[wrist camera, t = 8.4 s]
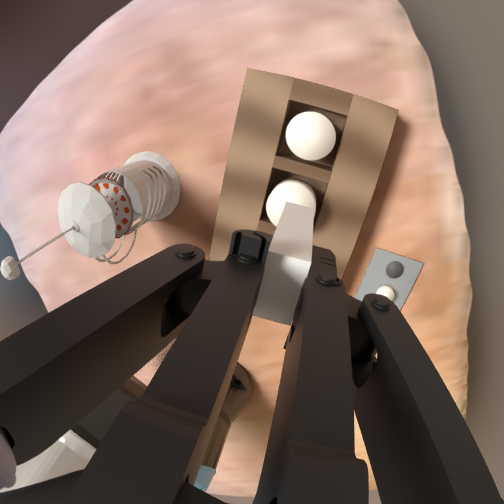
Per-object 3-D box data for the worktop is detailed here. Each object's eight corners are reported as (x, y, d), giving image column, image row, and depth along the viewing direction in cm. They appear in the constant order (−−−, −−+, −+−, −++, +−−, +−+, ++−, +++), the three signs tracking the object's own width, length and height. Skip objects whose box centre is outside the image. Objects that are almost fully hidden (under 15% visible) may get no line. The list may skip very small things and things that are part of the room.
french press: (181, 152, 38) (25, 219, 16) (181, 237, 43) (64, 357, 21) (117, 150, 40) (-37, 208, 18) (121, 228, 45) (-3, 323, 23)
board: (326, 300, 43) (325, 316, 40) (213, 267, 44) (205, 279, 41) (391, 110, 31) (398, 110, 28) (254, 72, 32) (247, 68, 29)
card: (389, 327, 42) (390, 334, 41) (345, 315, 43) (346, 322, 42) (422, 262, 37) (425, 268, 36) (375, 247, 38) (377, 252, 37)
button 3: (327, 161, 34) (328, 166, 31) (284, 149, 34) (280, 152, 32) (339, 119, 32) (341, 119, 29) (294, 106, 32) (292, 105, 29)
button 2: (309, 227, 36) (307, 237, 33) (266, 214, 36) (261, 224, 34) (321, 185, 34) (321, 192, 31) (277, 172, 34) (272, 178, 31)
